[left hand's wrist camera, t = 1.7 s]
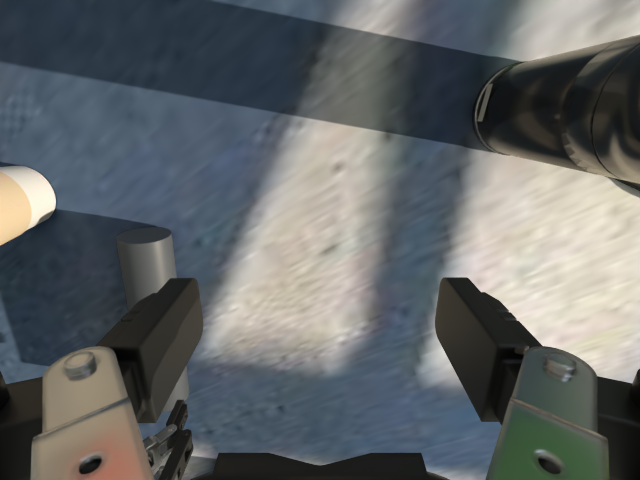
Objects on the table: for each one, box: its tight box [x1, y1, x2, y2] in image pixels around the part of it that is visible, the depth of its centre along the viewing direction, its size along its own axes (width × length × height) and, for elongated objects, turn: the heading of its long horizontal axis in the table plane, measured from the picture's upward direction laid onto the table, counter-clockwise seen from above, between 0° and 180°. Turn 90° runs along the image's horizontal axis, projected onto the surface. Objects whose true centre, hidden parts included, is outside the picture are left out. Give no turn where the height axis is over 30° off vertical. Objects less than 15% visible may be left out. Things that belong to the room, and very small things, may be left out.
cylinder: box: [116, 227, 189, 413], centre depth 43 cm, size 24×6×6 cm, turn 177°
